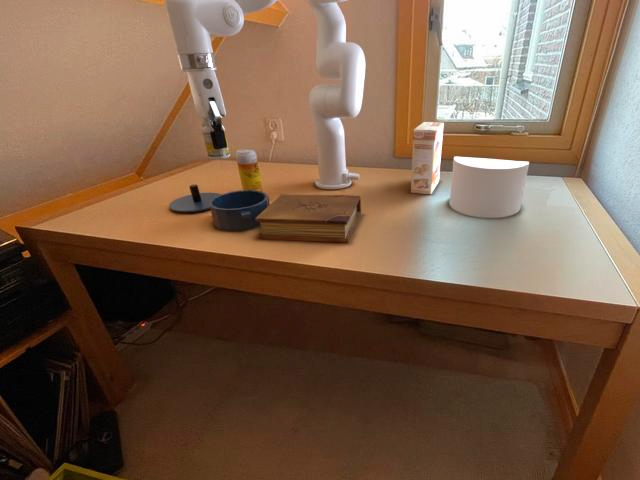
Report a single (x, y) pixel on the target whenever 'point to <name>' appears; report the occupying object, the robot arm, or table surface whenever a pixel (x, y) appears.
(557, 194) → the table surface
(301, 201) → the diary
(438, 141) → the coffeecake box
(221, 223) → the pan
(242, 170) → the beer can
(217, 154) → the supplement bottle
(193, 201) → the pan lid
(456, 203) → the container
